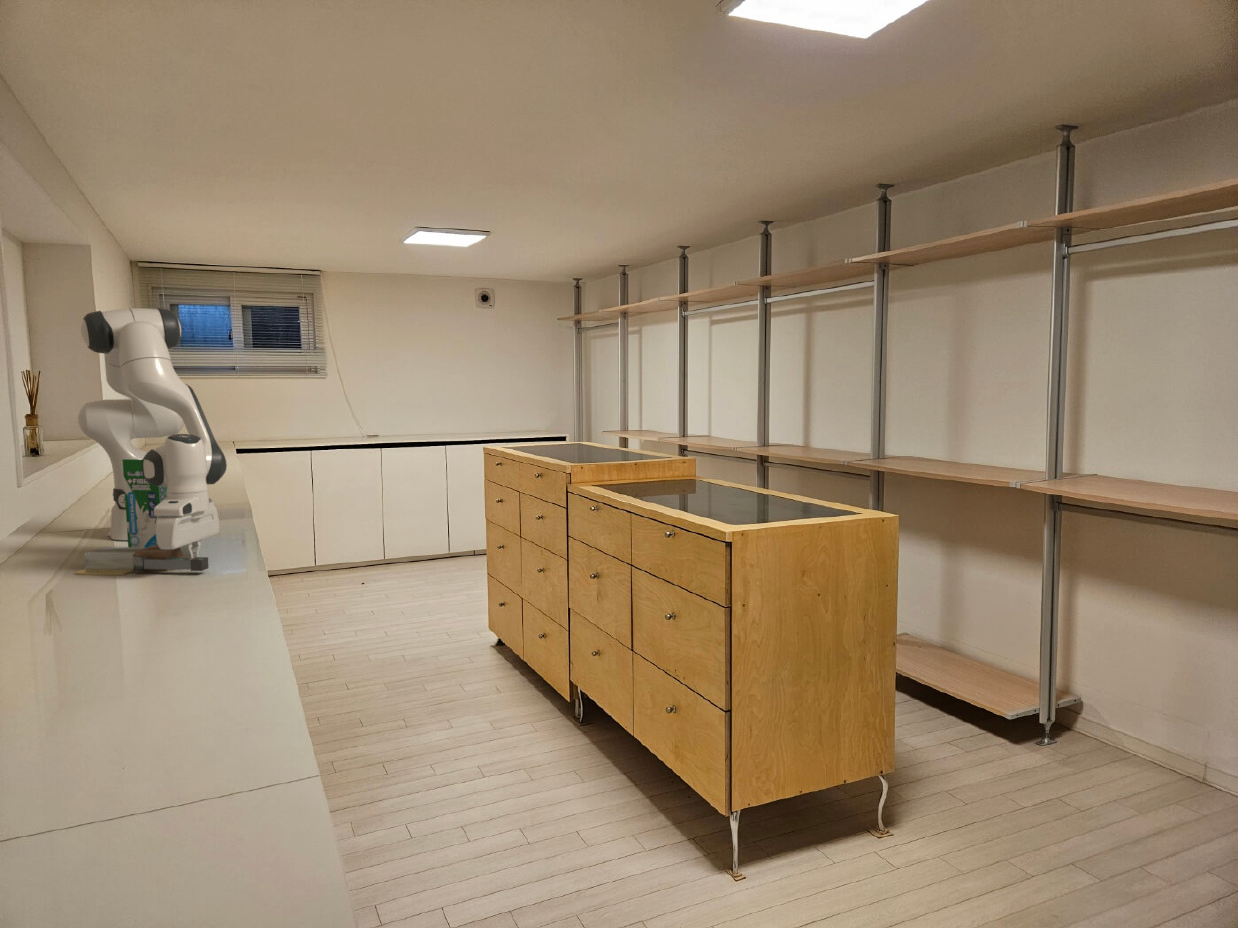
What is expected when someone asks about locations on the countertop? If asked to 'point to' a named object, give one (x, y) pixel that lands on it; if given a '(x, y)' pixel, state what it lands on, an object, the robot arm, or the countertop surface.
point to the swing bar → (170, 563)
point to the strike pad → (105, 571)
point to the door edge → (126, 557)
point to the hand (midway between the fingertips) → (191, 560)
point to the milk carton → (140, 505)
